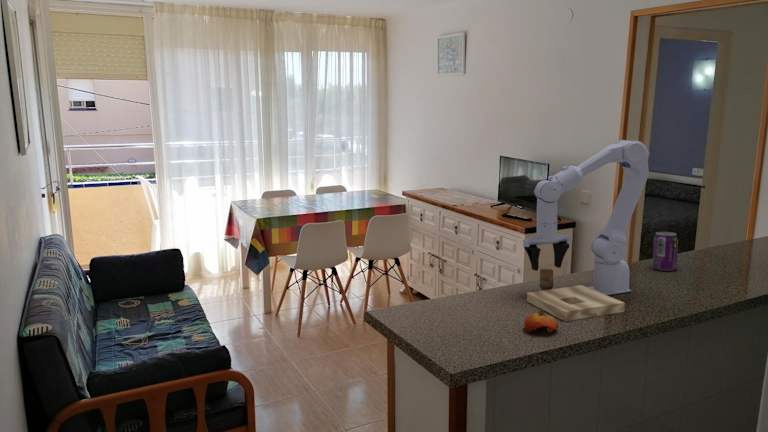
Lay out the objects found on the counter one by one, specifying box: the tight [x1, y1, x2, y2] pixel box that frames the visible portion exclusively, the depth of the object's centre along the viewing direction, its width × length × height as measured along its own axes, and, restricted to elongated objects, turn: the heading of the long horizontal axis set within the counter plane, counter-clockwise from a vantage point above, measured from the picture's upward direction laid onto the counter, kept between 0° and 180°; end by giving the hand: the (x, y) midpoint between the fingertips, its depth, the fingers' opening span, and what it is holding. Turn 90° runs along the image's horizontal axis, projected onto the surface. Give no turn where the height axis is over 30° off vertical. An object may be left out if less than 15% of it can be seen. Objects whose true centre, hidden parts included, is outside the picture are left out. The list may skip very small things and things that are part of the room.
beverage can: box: [652, 231, 679, 272], centre depth 188 cm, size 7×7×12 cm
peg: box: [539, 268, 554, 291], centre depth 168 cm, size 4×4×7 cm
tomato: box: [523, 309, 559, 335], centre depth 139 cm, size 8×7×7 cm
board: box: [526, 284, 626, 322], centre depth 156 cm, size 18×18×2 cm
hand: (546, 268), depth 167 cm, fingers open, 7 cm apart
